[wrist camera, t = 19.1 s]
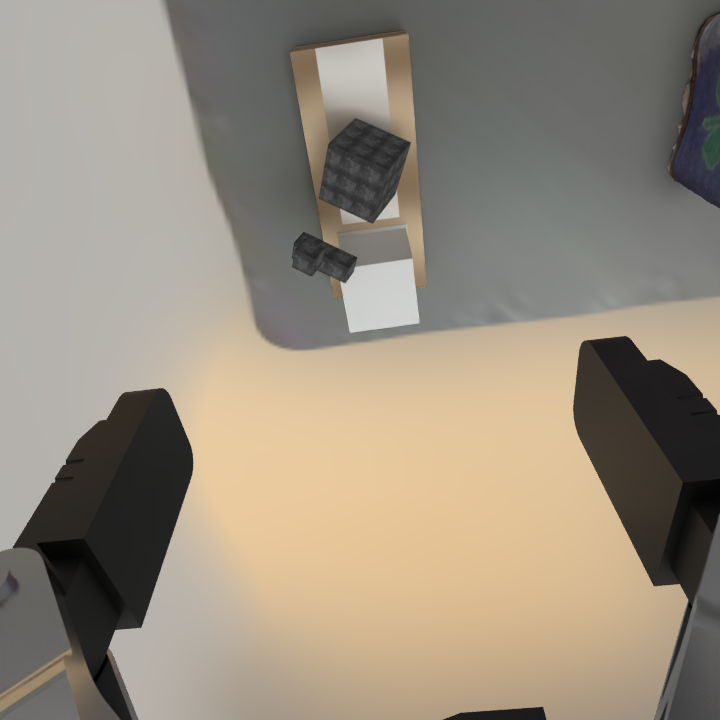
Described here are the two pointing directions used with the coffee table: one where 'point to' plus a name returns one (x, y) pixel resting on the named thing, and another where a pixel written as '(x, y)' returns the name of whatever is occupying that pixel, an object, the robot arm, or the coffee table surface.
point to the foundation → (369, 104)
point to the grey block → (380, 281)
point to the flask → (701, 119)
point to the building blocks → (353, 191)
